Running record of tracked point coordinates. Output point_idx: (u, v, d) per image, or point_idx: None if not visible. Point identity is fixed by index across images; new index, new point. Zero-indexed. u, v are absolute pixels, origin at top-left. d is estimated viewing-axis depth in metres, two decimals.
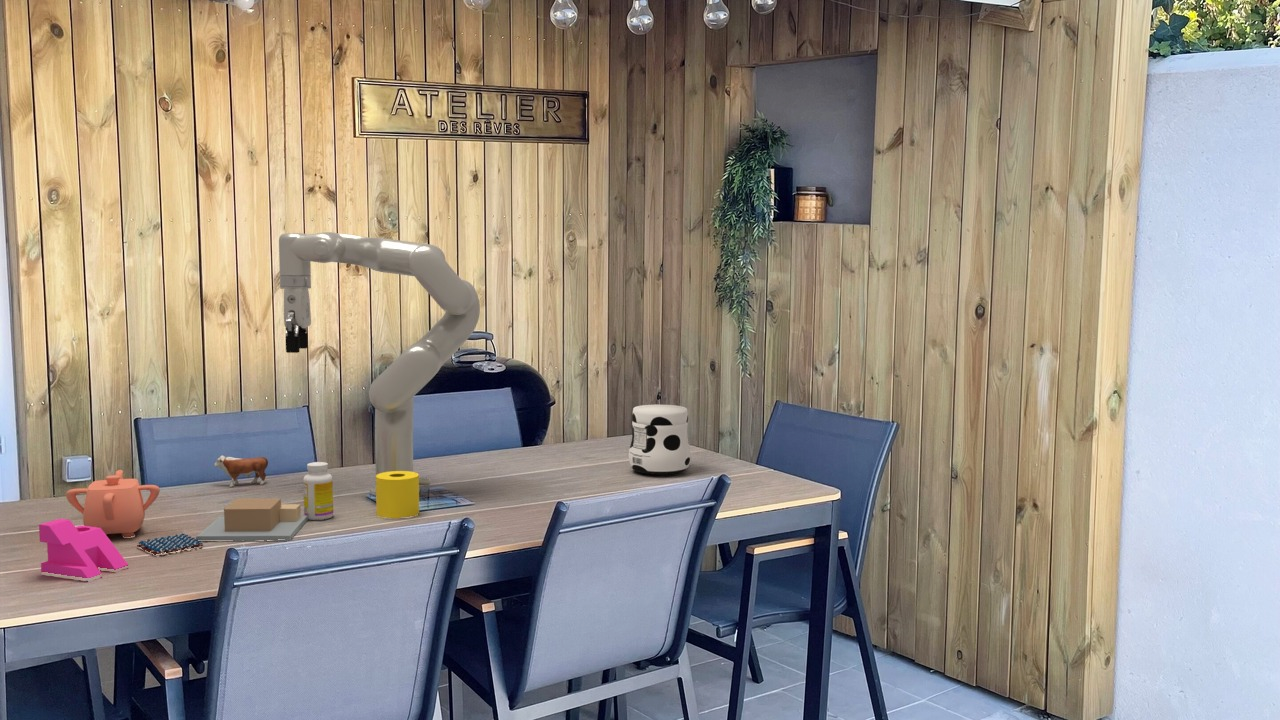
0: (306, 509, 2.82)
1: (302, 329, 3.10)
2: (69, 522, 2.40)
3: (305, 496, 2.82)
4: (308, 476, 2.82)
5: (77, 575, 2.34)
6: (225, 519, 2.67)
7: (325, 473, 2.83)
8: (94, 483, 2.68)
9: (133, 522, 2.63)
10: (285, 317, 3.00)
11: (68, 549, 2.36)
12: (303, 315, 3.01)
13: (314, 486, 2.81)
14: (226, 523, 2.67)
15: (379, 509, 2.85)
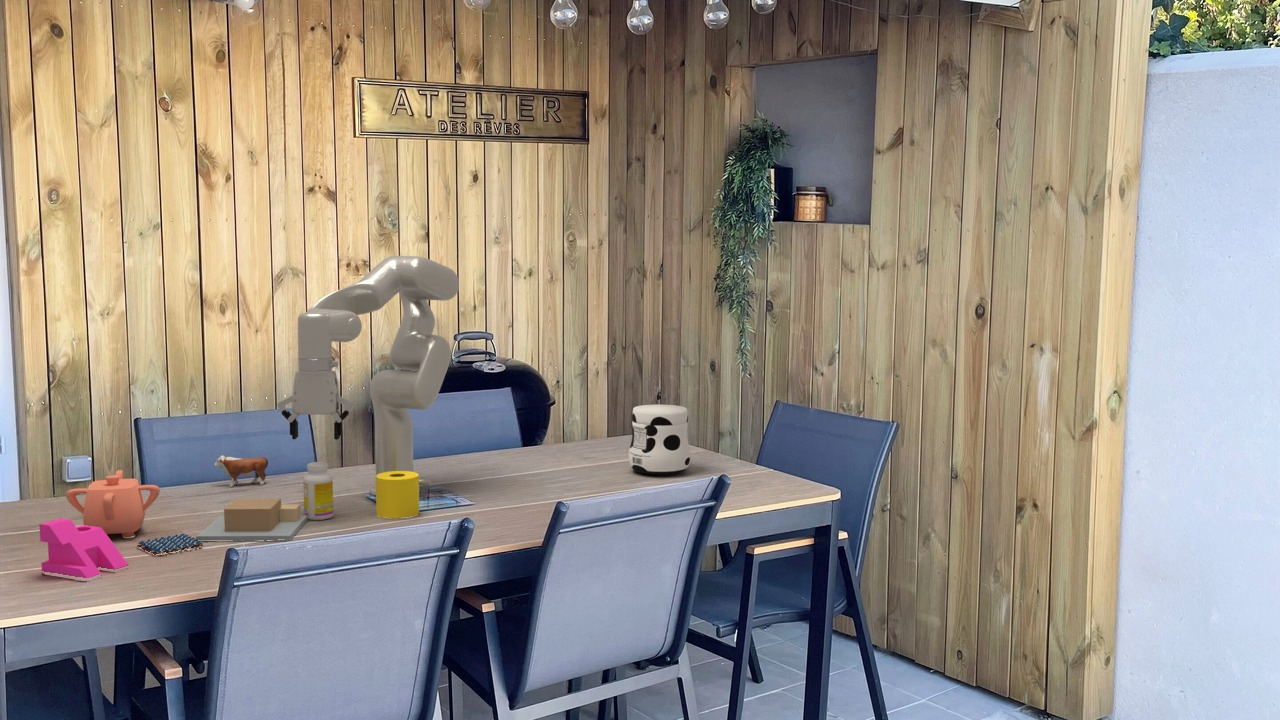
0: (306, 509, 2.82)
1: (294, 417, 2.82)
2: (70, 522, 2.40)
3: (305, 496, 2.82)
4: (308, 476, 2.82)
5: (76, 575, 2.34)
6: (225, 519, 2.67)
7: (325, 473, 2.83)
8: (94, 483, 2.68)
9: (133, 522, 2.63)
10: (335, 402, 2.80)
11: (68, 549, 2.37)
12: None
13: (314, 486, 2.81)
14: (226, 523, 2.67)
15: (379, 509, 2.85)
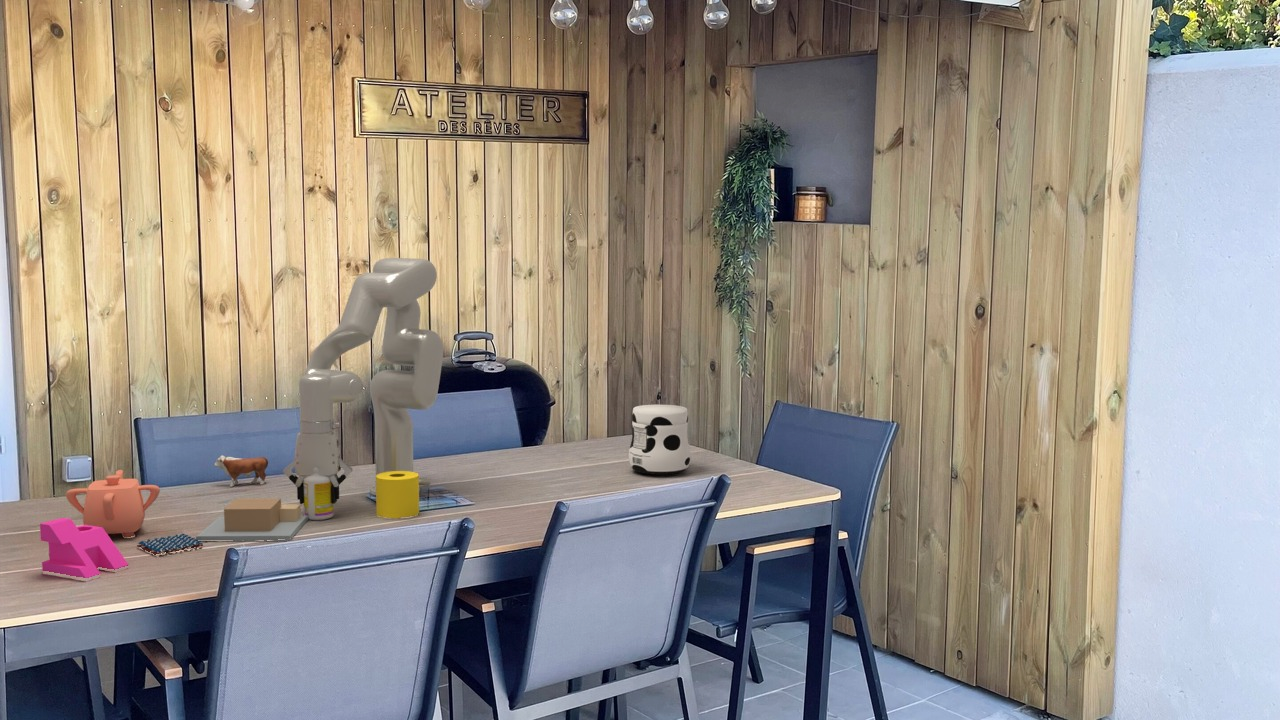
0: (306, 509, 2.82)
1: (301, 481, 2.84)
2: (70, 521, 2.40)
3: (305, 496, 2.82)
4: (308, 476, 2.82)
5: (75, 575, 2.34)
6: (225, 519, 2.67)
7: None
8: (94, 483, 2.68)
9: (133, 522, 2.63)
10: (337, 464, 2.82)
11: (68, 549, 2.37)
12: None
13: (314, 486, 2.81)
14: (226, 523, 2.67)
15: (379, 509, 2.85)
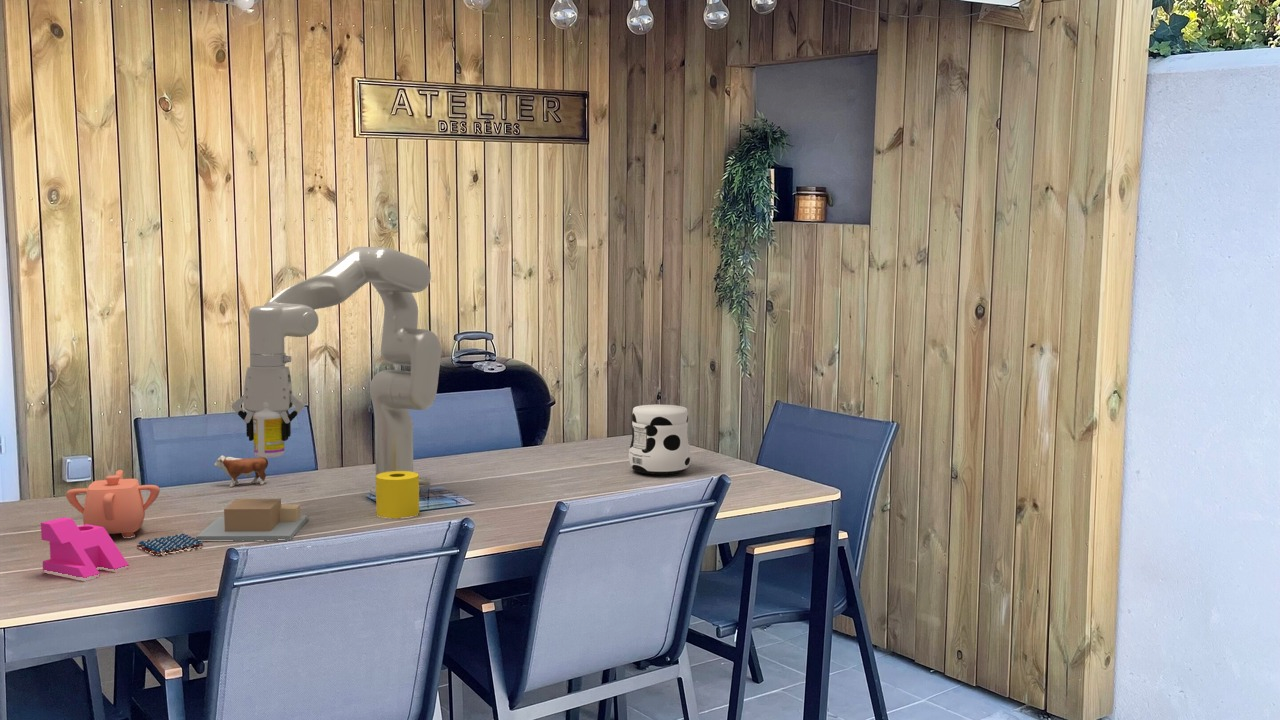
0: (255, 446, 2.71)
1: None
2: (71, 521, 2.41)
3: (255, 432, 2.71)
4: (258, 411, 2.70)
5: (74, 575, 2.35)
6: (225, 519, 2.67)
7: None
8: (94, 483, 2.68)
9: (133, 522, 2.63)
10: (288, 399, 2.71)
11: (68, 548, 2.37)
12: None
13: (263, 422, 2.69)
14: (226, 523, 2.67)
15: (379, 509, 2.85)
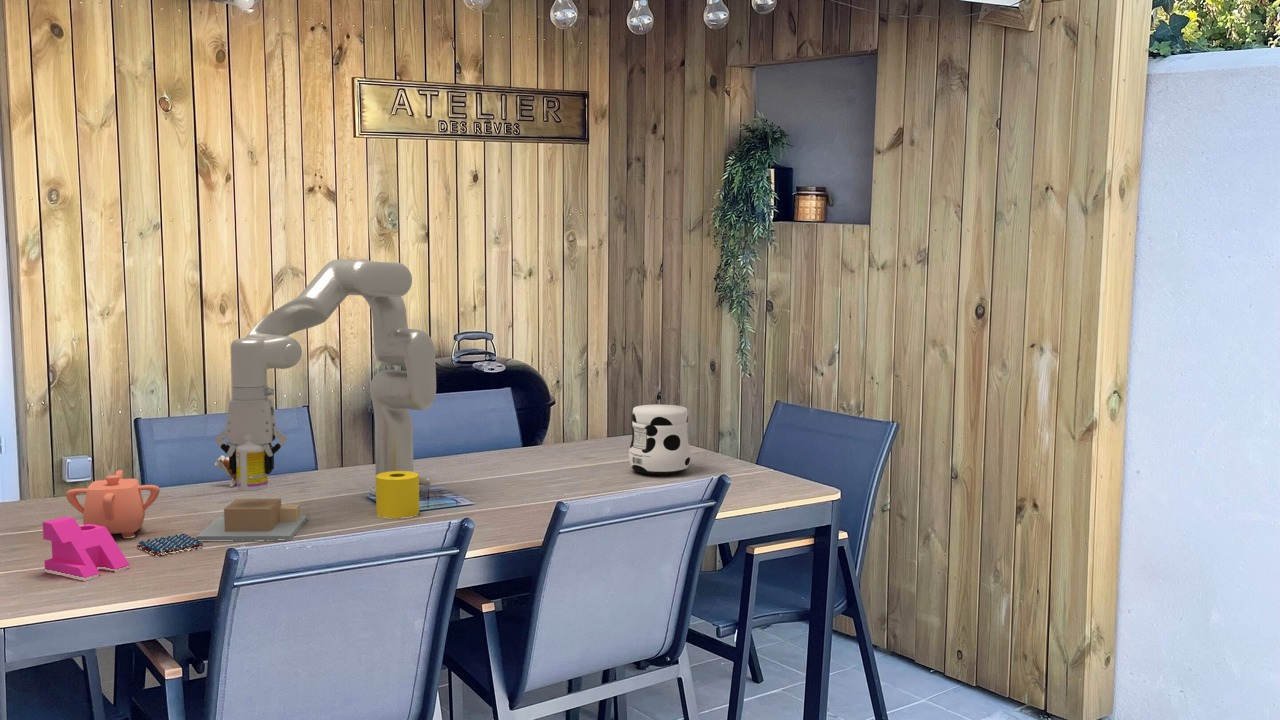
0: (238, 479, 2.68)
1: (234, 450, 2.70)
2: (73, 520, 2.41)
3: (237, 466, 2.68)
4: (240, 445, 2.68)
5: (75, 574, 2.35)
6: (225, 519, 2.67)
7: None
8: (94, 483, 2.68)
9: (133, 522, 2.63)
10: (271, 432, 2.68)
11: (69, 548, 2.38)
12: None
13: (246, 455, 2.67)
14: (226, 523, 2.67)
15: (379, 508, 2.85)
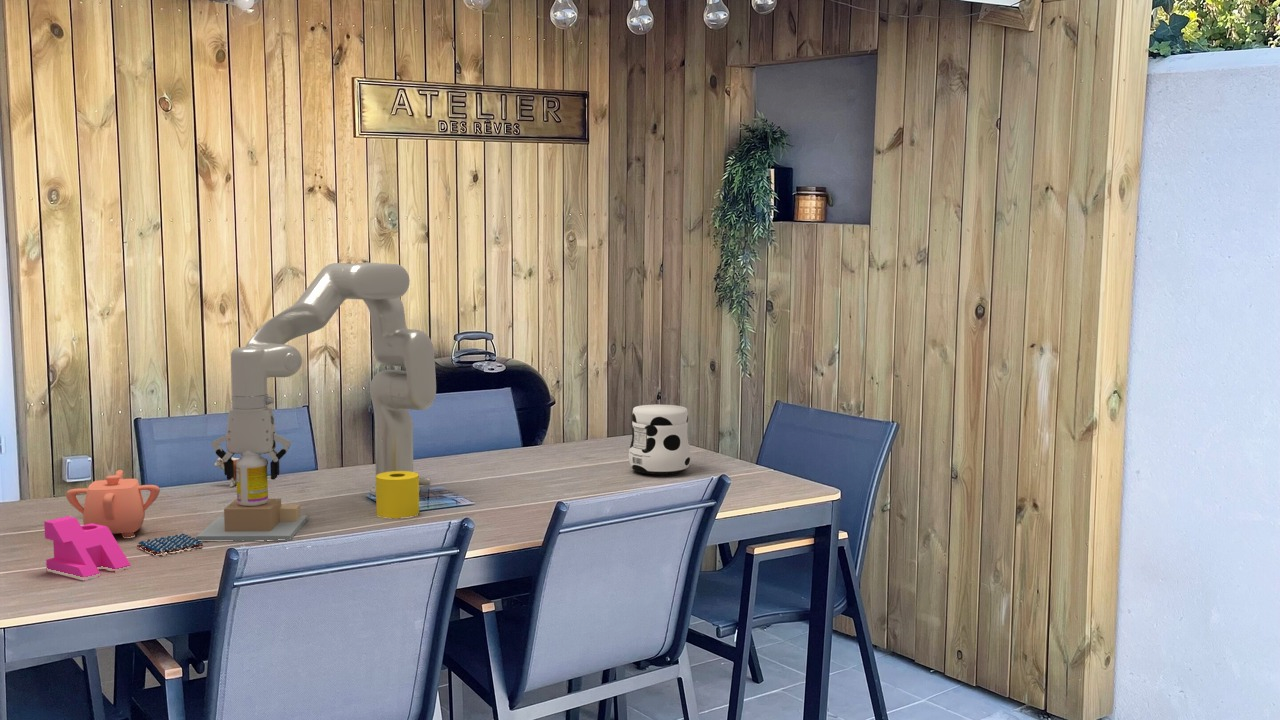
0: (239, 494, 2.69)
1: (229, 456, 2.70)
2: (74, 520, 2.41)
3: (238, 481, 2.69)
4: (241, 460, 2.68)
5: (75, 574, 2.35)
6: (225, 519, 2.67)
7: (259, 457, 2.70)
8: (94, 483, 2.68)
9: (133, 522, 2.63)
10: (272, 441, 2.69)
11: (70, 547, 2.38)
12: None
13: (246, 470, 2.67)
14: (226, 523, 2.67)
15: (379, 509, 2.85)
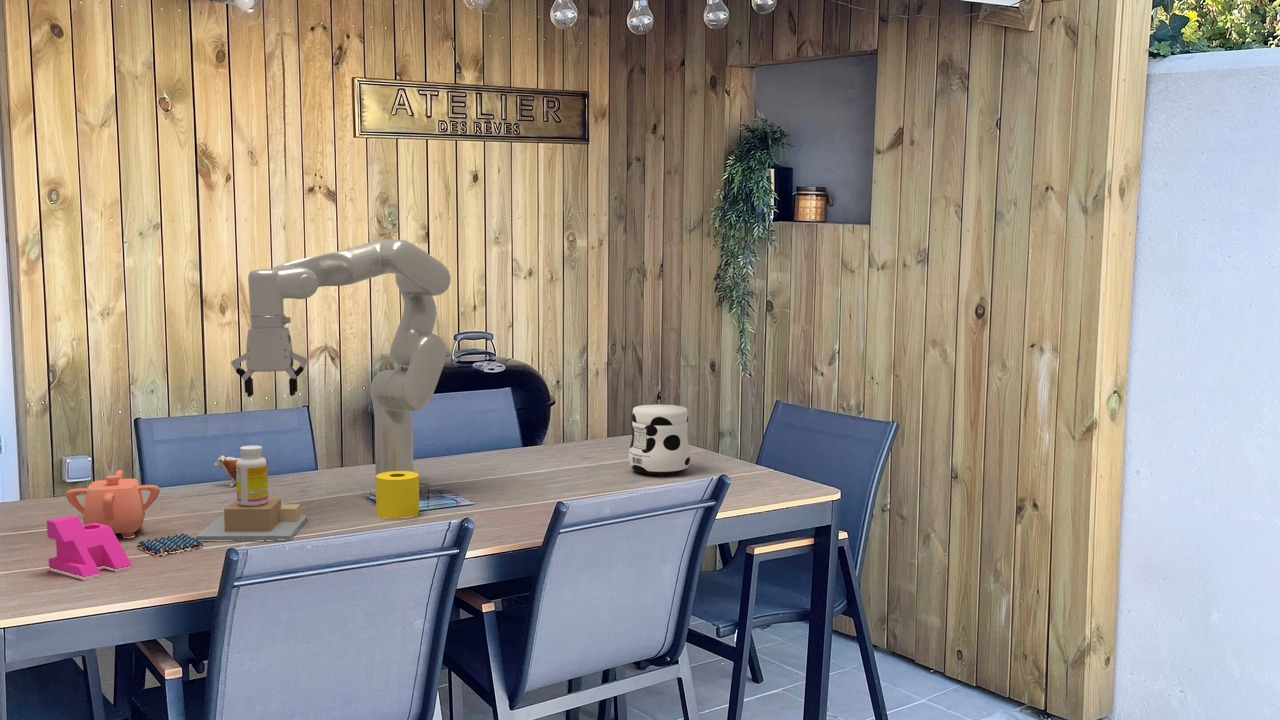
0: (239, 494, 2.69)
1: None
2: (77, 519, 2.42)
3: (238, 481, 2.69)
4: (241, 460, 2.68)
5: (75, 573, 2.36)
6: (225, 519, 2.67)
7: (259, 457, 2.70)
8: (94, 483, 2.68)
9: (133, 522, 2.63)
10: (290, 358, 2.81)
11: (72, 547, 2.38)
12: None
13: (246, 471, 2.67)
14: (226, 523, 2.67)
15: (379, 509, 2.85)
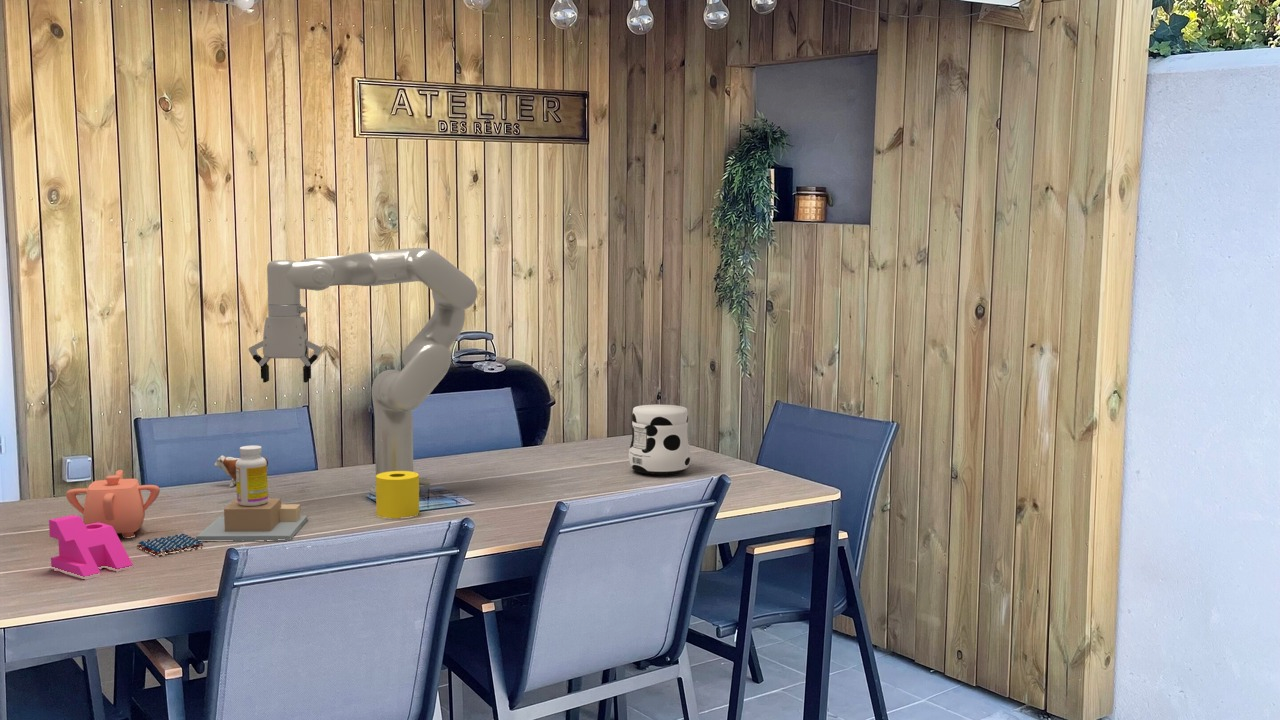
0: (239, 495, 2.69)
1: None
2: (79, 519, 2.42)
3: (237, 481, 2.69)
4: (240, 460, 2.68)
5: (76, 573, 2.36)
6: (225, 519, 2.67)
7: (259, 457, 2.70)
8: (94, 483, 2.68)
9: (133, 522, 2.63)
10: (304, 346, 2.92)
11: (73, 546, 2.39)
12: None
13: (246, 471, 2.67)
14: (226, 523, 2.67)
15: (379, 508, 2.85)
